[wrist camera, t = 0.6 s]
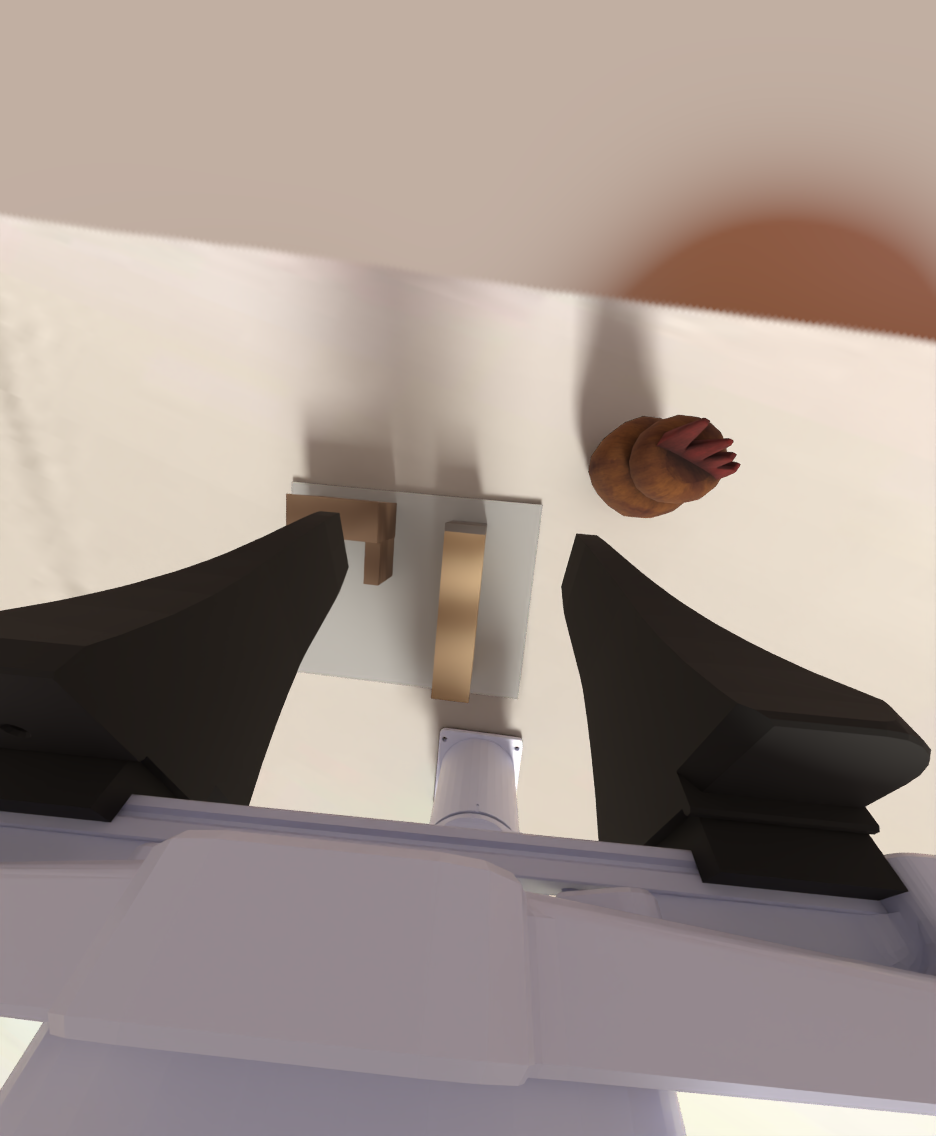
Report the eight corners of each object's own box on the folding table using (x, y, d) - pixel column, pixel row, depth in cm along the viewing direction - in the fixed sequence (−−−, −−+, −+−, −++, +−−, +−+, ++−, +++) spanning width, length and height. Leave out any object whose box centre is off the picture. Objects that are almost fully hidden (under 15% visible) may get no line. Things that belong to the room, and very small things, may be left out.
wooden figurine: (566, 465, 30) (637, 424, 15) (624, 419, 29) (762, 326, 14) (613, 528, 30) (727, 550, 16) (672, 485, 29) (852, 464, 15)
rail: (472, 673, 33) (468, 702, 28) (440, 669, 33) (430, 698, 28) (487, 523, 31) (486, 526, 26) (452, 520, 31) (445, 522, 26)
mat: (517, 696, 34) (517, 699, 33) (293, 669, 35) (290, 671, 34) (541, 504, 30) (542, 504, 30) (294, 481, 32) (291, 481, 31)
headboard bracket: (392, 575, 32) (374, 588, 27) (317, 568, 32) (286, 578, 27) (396, 503, 31) (378, 502, 26) (319, 495, 31) (286, 493, 26)
